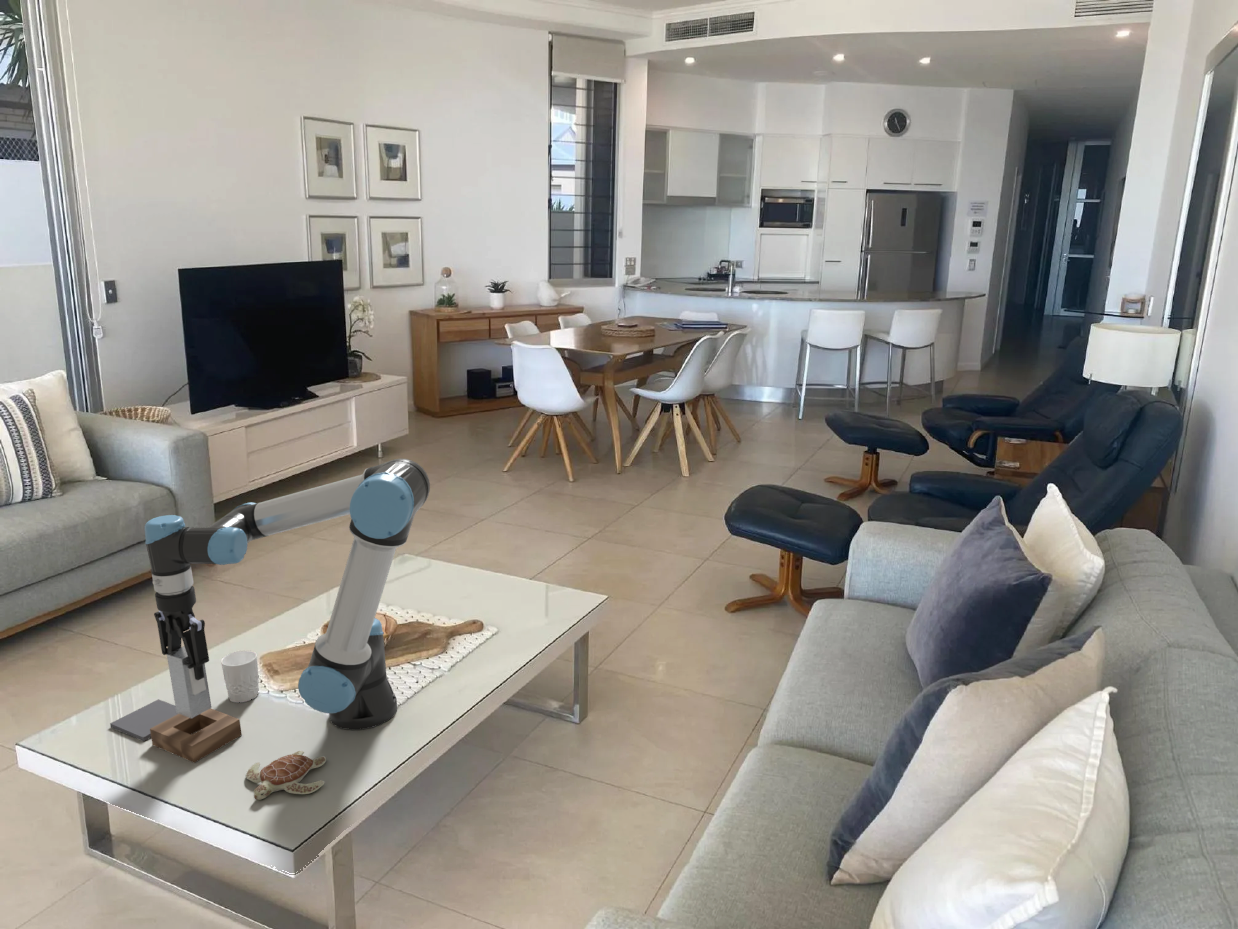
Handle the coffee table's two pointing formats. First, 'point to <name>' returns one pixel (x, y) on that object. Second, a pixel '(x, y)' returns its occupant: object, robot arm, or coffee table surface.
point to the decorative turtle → (285, 775)
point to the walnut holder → (196, 734)
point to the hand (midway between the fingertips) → (190, 688)
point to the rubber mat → (145, 719)
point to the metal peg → (186, 686)
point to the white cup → (241, 675)
